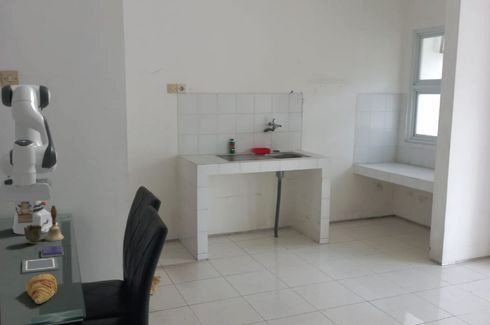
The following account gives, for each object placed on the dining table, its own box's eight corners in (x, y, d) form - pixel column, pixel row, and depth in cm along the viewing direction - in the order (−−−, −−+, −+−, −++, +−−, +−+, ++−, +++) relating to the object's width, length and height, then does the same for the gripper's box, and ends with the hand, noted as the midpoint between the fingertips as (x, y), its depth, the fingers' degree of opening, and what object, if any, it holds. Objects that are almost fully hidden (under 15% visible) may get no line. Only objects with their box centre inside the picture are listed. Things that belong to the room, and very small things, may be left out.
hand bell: (45, 242, 216) (45, 208, 214) (44, 236, 223) (43, 204, 221) (64, 240, 220) (64, 207, 217) (62, 235, 227) (62, 203, 225)
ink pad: (40, 250, 205) (40, 247, 204) (62, 248, 208) (62, 245, 208) (41, 257, 197) (41, 253, 196) (63, 255, 200) (63, 251, 200)
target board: (22, 261, 191) (22, 260, 191) (56, 258, 196) (56, 256, 196) (22, 273, 179) (22, 271, 179) (58, 269, 185) (58, 268, 185)
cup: (35, 247, 208) (34, 230, 207) (20, 245, 210) (20, 228, 209) (45, 242, 216) (45, 225, 214) (31, 240, 217) (31, 223, 216)
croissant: (48, 315, 155) (60, 294, 155) (18, 305, 152) (31, 283, 152) (52, 288, 175) (62, 269, 175) (26, 278, 171) (36, 259, 171)
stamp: (18, 219, 198) (17, 201, 197) (32, 218, 200) (32, 200, 199) (18, 223, 193) (17, 204, 192) (32, 222, 195) (32, 203, 194)
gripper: (51, 177, 201) (51, 208, 203) (-3, 178, 193) (-2, 210, 195) (51, 179, 196) (52, 211, 198) (-4, 181, 187) (-3, 214, 189)
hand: (25, 211), depth 196 cm, fingers closed on stamp, 3 cm apart
